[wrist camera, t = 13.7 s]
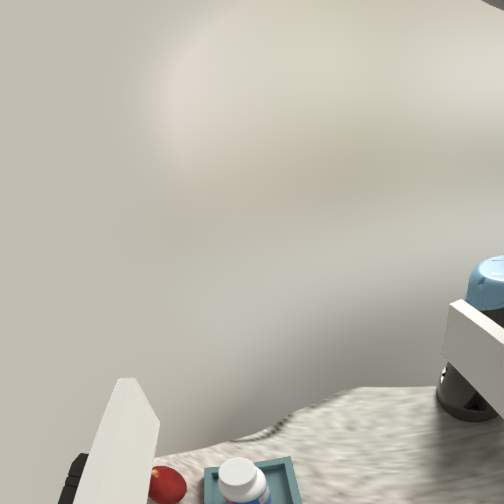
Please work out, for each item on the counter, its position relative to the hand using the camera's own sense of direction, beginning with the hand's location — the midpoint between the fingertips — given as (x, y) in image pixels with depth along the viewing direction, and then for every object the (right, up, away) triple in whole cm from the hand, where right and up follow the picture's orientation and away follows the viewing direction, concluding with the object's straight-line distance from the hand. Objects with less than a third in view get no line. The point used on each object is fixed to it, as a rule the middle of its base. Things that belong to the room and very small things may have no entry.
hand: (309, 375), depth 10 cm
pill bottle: (-2, -27, +17) cm, 32 cm away
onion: (-13, -29, +18) cm, 37 cm away
